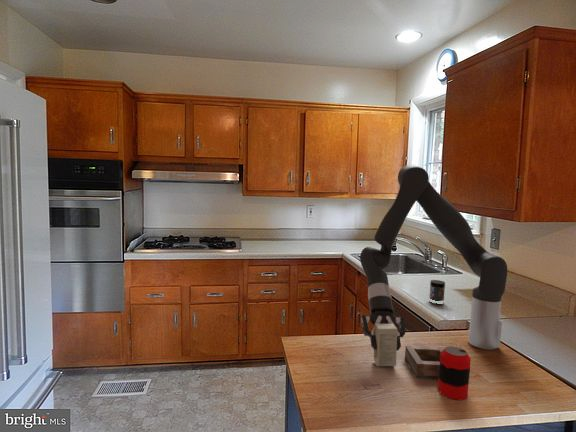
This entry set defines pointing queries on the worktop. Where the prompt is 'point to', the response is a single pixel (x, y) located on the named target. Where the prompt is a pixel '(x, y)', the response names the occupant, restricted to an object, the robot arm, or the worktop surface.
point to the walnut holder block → (424, 361)
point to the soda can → (454, 373)
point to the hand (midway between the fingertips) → (386, 349)
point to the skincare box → (385, 345)
